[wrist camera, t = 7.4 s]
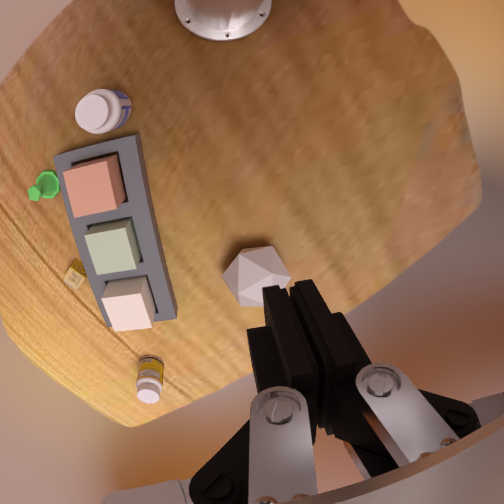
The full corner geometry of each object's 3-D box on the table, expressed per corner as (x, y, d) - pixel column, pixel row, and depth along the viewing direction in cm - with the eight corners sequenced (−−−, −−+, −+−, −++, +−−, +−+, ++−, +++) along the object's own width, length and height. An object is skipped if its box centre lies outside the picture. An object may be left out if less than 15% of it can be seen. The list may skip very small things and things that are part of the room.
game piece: (34, 175, 39) (14, 186, 33) (56, 165, 39) (37, 174, 33) (43, 201, 41) (25, 215, 35) (65, 192, 41) (49, 204, 35)
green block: (95, 221, 43) (84, 235, 38) (132, 214, 43) (125, 227, 39) (105, 258, 45) (97, 274, 41) (142, 252, 46) (136, 268, 41)
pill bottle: (90, 100, 36) (62, 101, 27) (126, 83, 36) (104, 79, 27) (103, 135, 38) (77, 145, 30) (138, 119, 38) (120, 124, 30)
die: (211, 271, 50) (237, 328, 46) (221, 236, 43) (252, 301, 39) (259, 258, 54) (286, 310, 50) (275, 224, 47) (308, 282, 43)
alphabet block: (68, 271, 46) (62, 280, 43) (76, 257, 45) (69, 267, 43) (83, 281, 47) (77, 291, 45) (91, 268, 47) (85, 278, 44)
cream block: (109, 280, 45) (101, 298, 41) (145, 274, 46) (140, 293, 41) (120, 312, 48) (114, 331, 44) (155, 307, 49) (152, 327, 44)
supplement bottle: (157, 374, 58) (154, 408, 50) (135, 365, 56) (130, 398, 49) (168, 360, 57) (166, 394, 49) (145, 350, 55) (140, 384, 47)
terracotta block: (77, 164, 37) (62, 172, 33) (117, 154, 38) (106, 160, 33) (86, 205, 40) (74, 217, 36) (126, 197, 41) (116, 209, 36)
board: (61, 152, 38) (53, 156, 35) (139, 133, 39) (134, 135, 36) (111, 316, 51) (107, 326, 48) (177, 307, 52) (176, 318, 49)
